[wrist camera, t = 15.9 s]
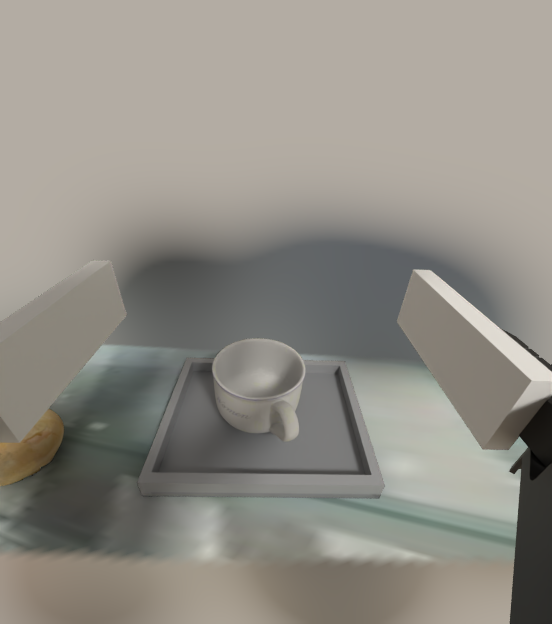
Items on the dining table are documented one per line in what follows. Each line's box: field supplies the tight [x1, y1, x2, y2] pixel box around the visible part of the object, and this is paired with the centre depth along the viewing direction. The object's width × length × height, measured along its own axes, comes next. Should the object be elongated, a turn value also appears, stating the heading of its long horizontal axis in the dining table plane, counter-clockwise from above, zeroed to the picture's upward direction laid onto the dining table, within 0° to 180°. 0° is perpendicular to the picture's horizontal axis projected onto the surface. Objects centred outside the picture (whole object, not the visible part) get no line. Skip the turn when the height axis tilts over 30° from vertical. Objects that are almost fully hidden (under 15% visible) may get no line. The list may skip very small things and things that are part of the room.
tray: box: [137, 358, 385, 498], centre depth 35 cm, size 24×18×2 cm
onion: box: [0, 409, 64, 486], centre depth 29 cm, size 8×8×7 cm
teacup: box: [212, 338, 305, 442], centre depth 33 cm, size 14×11×8 cm
